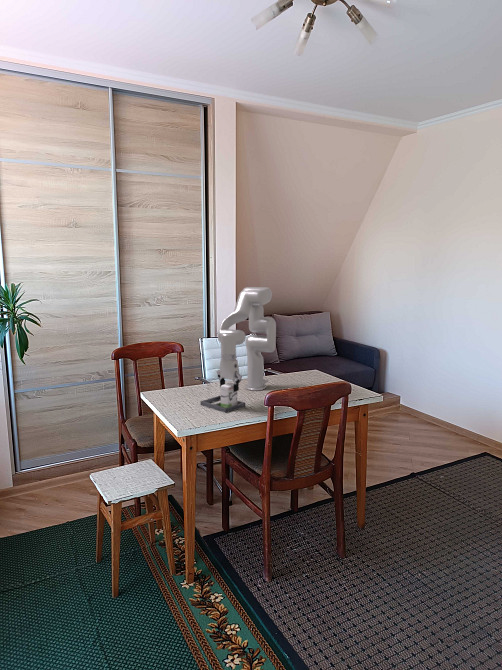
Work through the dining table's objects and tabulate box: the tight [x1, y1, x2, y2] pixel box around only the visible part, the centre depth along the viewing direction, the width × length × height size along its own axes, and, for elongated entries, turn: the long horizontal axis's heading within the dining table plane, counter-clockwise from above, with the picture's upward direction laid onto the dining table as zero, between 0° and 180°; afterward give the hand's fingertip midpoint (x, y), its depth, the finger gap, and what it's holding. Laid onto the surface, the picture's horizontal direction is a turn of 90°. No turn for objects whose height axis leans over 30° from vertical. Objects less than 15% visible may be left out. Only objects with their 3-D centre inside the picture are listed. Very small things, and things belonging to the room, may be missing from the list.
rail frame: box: [200, 395, 246, 414], centre depth 243 cm, size 14×19×2 cm
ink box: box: [220, 382, 238, 408], centre depth 240 cm, size 9×5×12 cm, turn 146°
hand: (229, 389), depth 240 cm, fingers open, 9 cm apart
